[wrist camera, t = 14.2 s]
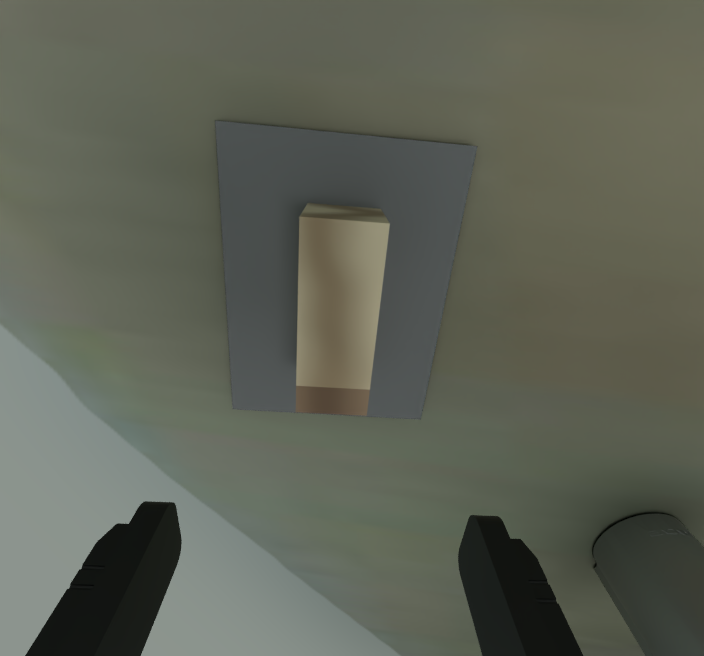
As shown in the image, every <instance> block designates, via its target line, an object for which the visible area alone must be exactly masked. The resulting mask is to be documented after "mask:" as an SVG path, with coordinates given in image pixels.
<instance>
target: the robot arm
mask: <svg viewBox="0 0 704 656" xmlns="http://www.w3.org/2000/svg"><path fill="white" fill-rule="evenodd" d="M180 551H181V534H180V528H179V522H178V516H177V510H176V505H175V503H172V502H143V503H142V504H141V505H140V506H139V508H138V509H137V511H136V513H135V515H134V516H133V518H132V520H131V521H130V523H129V524H116V525H115V526H114V527H113V528H112V529H111V530H110V531H108V532H107V533H106V534H105V535H104V536H103V537H102V538H101V539H100V540H99V541H98V542H97V543H96V544H95V546H94V547H93V549H92V550H91V552H90V554H89V555H88V557H87V558H86V560H85V562H84V563H83V566H82V569H81V570H79V571H78V573H77V574H76V576H75V578H74V579H73V581H72V582H71V584H70V588H69V589H67V590H66V592H65V593H64V595H63V597H62V598H61V600H60V602H59V603H58V605H57V606H56V608H55V609H54V611H53V613H52V614H51V616H50V617H49V619H48V620H47V622H46V624H45V625H44V627H43V628H42V630H41V632H40V633H39V635H38V637H37V638H36V640H35V641H34V643H33V644H32V646H31V648H30V649H29V651H28V652H27V654H26V655H25V656H141V653H142V651H143V648H144V646H145V643H146V641H147V638H148V636H149V633H150V631H151V628H152V626H153V624H154V621H155V619H156V616H157V614H158V611H159V608H160V606H161V603H162V601H163V599H164V596H165V593H166V591H167V589H168V586H169V584H170V581H171V579H172V576H173V574H174V571H175V568H176V566H177V563H178V560H179V556H180ZM593 557H594V559H595V561H596V563H597V565H596V568H595V572H596V573H597V575H598V577H599V578H600V580H601V582H602V583H603V585H604V587H605V588H606V590H607V592H608V593H609V595H610V597H611V598H612V600H613V602H614V604H615V605H616V607H617V609H618V610H619V612H620V614H621V615H622V617H623V619H624V620H625V622H626V624H627V625H628V627H629V629H630V630H631V632H632V634H633V635H634V637H635V639H636V640H637V642H638V644H639V645H640V647H641V649H642V651H643V652H644V654H645V656H704V547H703V546H702V545H701V544H700V543H699V541H698V540H697V539H696V538H695V537H694V536H693V535H692V534H691V533H690V532H689V530H688V529H687V528H686V527H685V526H684V525H683V524H682V523H681V522H680V521H679V520H678V519H676V518H675V517H672V516H669V515H666V514H644V515H638V516H635V517H631V518H628V519H626V520H624V521H621V522H619V523H617V524H615V525H614V526H612V527H611V528H609V529H608V530H607V531H605V532H604V533H603V534H602V535H601V536H600V538H599V539H598V540H597V542H596V544H595V545H594V549H593ZM458 563H459V571H460V576H461V579H462V583H463V587H464V590H465V594H466V597H467V601H468V605H469V608H470V612H471V616H472V619H473V623H474V626H475V630H476V634H477V637H478V641H479V645H480V648H481V652H482V655H483V656H583V654H582V652H581V650H580V648H579V646H578V644H577V641H576V639H575V637H574V635H573V633H572V631H571V629H570V627H569V625H568V623H567V620H566V618H565V616H564V614H563V612H562V610H561V608H560V606H559V604H557V602H556V597H555V595H554V593H553V591H552V589H551V587H550V585H548V583H547V578H546V576H545V574H544V572H543V570H542V568H541V566H540V564H539V562H538V559H537V558H536V557H535V555H534V554H533V553H532V552H531V551H530V550H529V548H528V547H527V546H526V545H525V544H524V543H523V541H522V540H521V539H510V537H509V535H508V532H507V530H506V528H505V525H504V523H503V521H502V520H501V518H500V517H498V516H478V515H471V516H470V517H469V519H468V522H467V526H466V529H465V532H464V535H463V538H462V542H461V545H460V548H459V554H458Z"/></svg>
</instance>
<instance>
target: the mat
mask: <svg viewBox="0 0 704 656" xmlns="http://www.w3.org/2000/svg"><path fill="white" fill-rule="evenodd" d="M215 127H216V143H217V160H218V176H219V192H220V209H221V225H222V241H223V258H224V274H225V290H226V307H227V323H228V339H229V356H230V372H231V388H232V405H233V409H239V410H258V411H276V412H294V413H302V412H296V368H297V316H298V264H299V216H300V215H301V213H302V212H303V210H304V208H305V207H306V205H307V203H315V204H327V205H339V206H352V207H364V208H377V209H381V210H382V212H383V213H384V215H385V216H386V218H387V220H388V221H389V223H390V227H389V236H388V244H387V252H386V260H385V269H384V277H383V285H382V293H381V302H380V310H379V318H378V327H377V335H376V343H375V351H374V360H373V368H372V376H371V384H370V393H369V401H368V409H367V417H386V418H404V419H421V415H422V411H423V406H424V401H425V396H426V391H427V386H428V382H429V377H430V372H431V367H432V362H433V358H434V353H435V348H436V343H437V338H438V333H439V329H440V324H441V319H442V314H443V309H444V305H445V300H446V295H447V290H448V285H449V280H450V276H451V271H452V266H453V261H454V256H455V252H456V247H457V242H458V237H459V232H460V228H461V223H462V218H463V213H464V208H465V203H466V199H467V194H468V189H469V184H470V179H471V175H472V170H473V165H474V160H475V155H476V150H477V146H469V145H459V144H449V143H439V142H428V141H418V140H408V139H398V138H388V137H378V136H368V135H357V134H347V133H337V132H327V131H317V130H307V129H296V128H286V127H276V126H266V125H256V124H246V123H236V122H225V121H215ZM312 414H322V413H312ZM331 415H342V414H331ZM349 416H362V415H349Z"/></svg>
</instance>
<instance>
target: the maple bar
mask: <svg viewBox="0 0 704 656" xmlns="http://www.w3.org/2000/svg"><path fill="white" fill-rule="evenodd" d="M389 227H390V223H389V221H388V220H387V218H386V216H385V215H384V213H383V212H382V210H381V209H377V208H364V207H352V206H339V205H327V204H315V203H307V205H306V207H305V208H304V210H303V212H302V213H301V215H300V216H299V264H298V316H297V368H296V412H302V413H322V414H342V415H362V416H367V409H368V401H369V393H370V384H371V376H372V368H373V360H374V351H375V343H376V335H377V327H378V318H379V310H380V302H381V293H382V285H383V277H384V269H385V260H386V252H387V244H388V236H389Z"/></svg>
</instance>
